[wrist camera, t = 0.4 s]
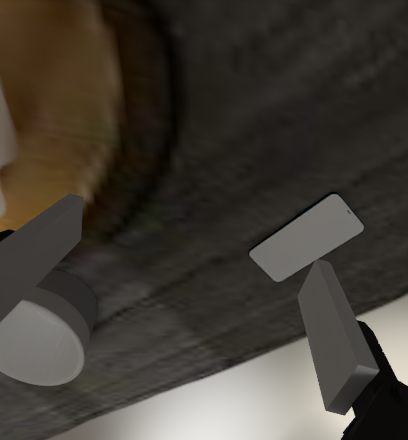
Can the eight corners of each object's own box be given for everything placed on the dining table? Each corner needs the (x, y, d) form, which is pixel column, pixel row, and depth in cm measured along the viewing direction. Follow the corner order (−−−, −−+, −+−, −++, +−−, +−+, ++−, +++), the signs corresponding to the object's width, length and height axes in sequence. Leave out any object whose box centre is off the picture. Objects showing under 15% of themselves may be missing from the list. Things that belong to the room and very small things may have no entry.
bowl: (28, 238, 51) (-21, 276, 42) (127, 292, 54) (102, 339, 44) (2, 306, 59) (-45, 351, 50) (88, 350, 62) (60, 401, 53)
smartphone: (276, 281, 50) (365, 226, 44) (277, 284, 49) (367, 229, 43) (245, 249, 48) (333, 187, 42) (245, 252, 47) (335, 189, 41)
